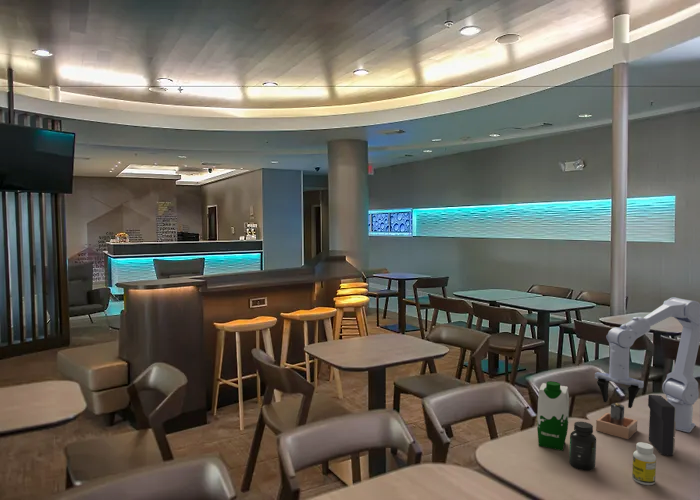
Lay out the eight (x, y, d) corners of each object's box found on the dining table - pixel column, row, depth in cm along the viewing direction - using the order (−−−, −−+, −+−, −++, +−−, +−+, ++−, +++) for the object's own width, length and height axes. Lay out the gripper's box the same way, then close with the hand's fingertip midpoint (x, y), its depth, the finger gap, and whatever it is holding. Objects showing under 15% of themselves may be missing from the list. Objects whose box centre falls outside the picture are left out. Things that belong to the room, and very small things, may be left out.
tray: (605, 422, 178) (606, 412, 178) (637, 430, 171) (637, 420, 171) (596, 430, 171) (596, 420, 171) (628, 439, 164) (628, 428, 164)
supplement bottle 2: (627, 476, 140) (629, 441, 140) (646, 475, 141) (647, 440, 140) (640, 486, 135) (642, 450, 134) (659, 485, 135) (661, 449, 135)
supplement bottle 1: (564, 464, 147) (565, 423, 146) (576, 457, 151) (578, 418, 150) (587, 473, 141) (589, 431, 141) (599, 466, 145) (601, 425, 145)
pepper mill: (612, 425, 174) (613, 400, 173) (624, 429, 171) (626, 403, 171) (608, 429, 171) (609, 403, 171) (621, 432, 168) (622, 406, 168)
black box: (675, 456, 152) (678, 407, 151) (659, 455, 153) (662, 406, 152) (661, 441, 163) (663, 395, 162) (646, 440, 164) (648, 394, 163)
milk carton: (535, 446, 158) (537, 383, 157) (539, 435, 166) (541, 375, 165) (565, 452, 154) (567, 387, 153) (568, 441, 162) (570, 379, 161)
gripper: (592, 362, 172) (590, 401, 173) (639, 371, 162) (638, 413, 163) (599, 358, 177) (598, 396, 178) (646, 366, 167) (644, 407, 168)
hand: (617, 404), depth 171 cm, fingers open, 7 cm apart
